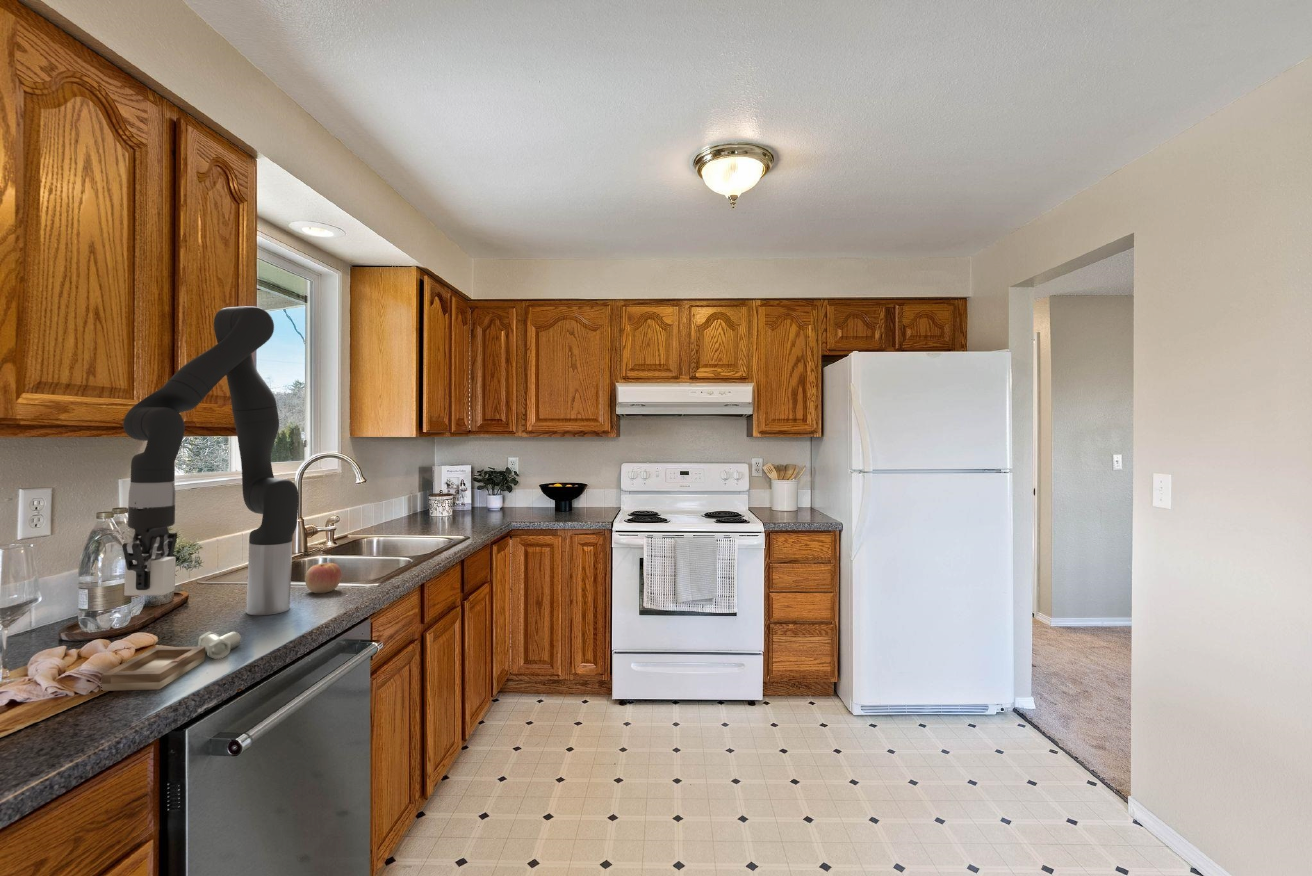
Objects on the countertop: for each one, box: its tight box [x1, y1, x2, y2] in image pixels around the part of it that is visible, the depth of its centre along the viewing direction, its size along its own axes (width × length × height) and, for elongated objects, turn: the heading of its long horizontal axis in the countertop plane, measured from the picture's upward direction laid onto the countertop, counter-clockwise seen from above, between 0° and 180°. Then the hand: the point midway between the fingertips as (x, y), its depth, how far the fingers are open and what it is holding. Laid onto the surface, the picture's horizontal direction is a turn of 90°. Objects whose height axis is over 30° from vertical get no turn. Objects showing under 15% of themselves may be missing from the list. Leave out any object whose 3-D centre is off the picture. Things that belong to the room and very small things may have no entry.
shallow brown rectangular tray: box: [100, 646, 206, 692], centre depth 113 cm, size 14×9×3 cm, turn 9°
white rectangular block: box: [123, 554, 177, 596], centre depth 127 cm, size 4×7×8 cm, turn 99°
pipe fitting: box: [197, 630, 242, 660], centre depth 125 cm, size 8×4×7 cm
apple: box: [305, 562, 342, 594], centre depth 174 cm, size 9×9×8 cm
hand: (150, 586), depth 127 cm, fingers closed on white rectangular block, 4 cm apart
